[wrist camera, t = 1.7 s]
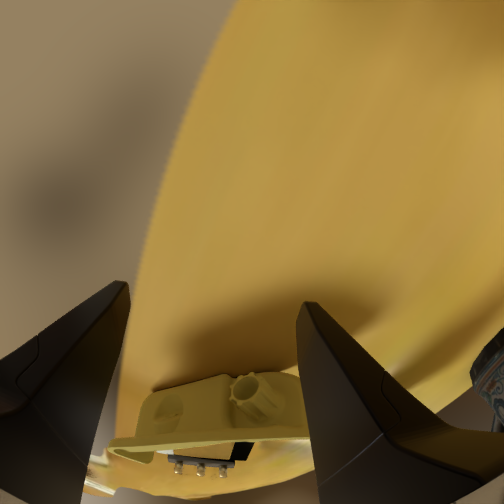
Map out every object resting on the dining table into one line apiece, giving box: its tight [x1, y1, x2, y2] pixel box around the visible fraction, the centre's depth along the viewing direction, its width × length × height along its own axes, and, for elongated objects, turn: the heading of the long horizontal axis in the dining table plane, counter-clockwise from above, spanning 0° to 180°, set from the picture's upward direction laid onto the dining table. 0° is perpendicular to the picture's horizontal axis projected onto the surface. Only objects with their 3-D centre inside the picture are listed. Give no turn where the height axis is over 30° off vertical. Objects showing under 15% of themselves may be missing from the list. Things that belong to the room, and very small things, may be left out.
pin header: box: [168, 454, 235, 478], centre depth 42 cm, size 12×2×3 cm, turn 81°
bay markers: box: [157, 441, 255, 461], centre depth 38 cm, size 16×19×1 cm
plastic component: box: [108, 372, 310, 464], centre depth 25 cm, size 20×7×10 cm, turn 117°
